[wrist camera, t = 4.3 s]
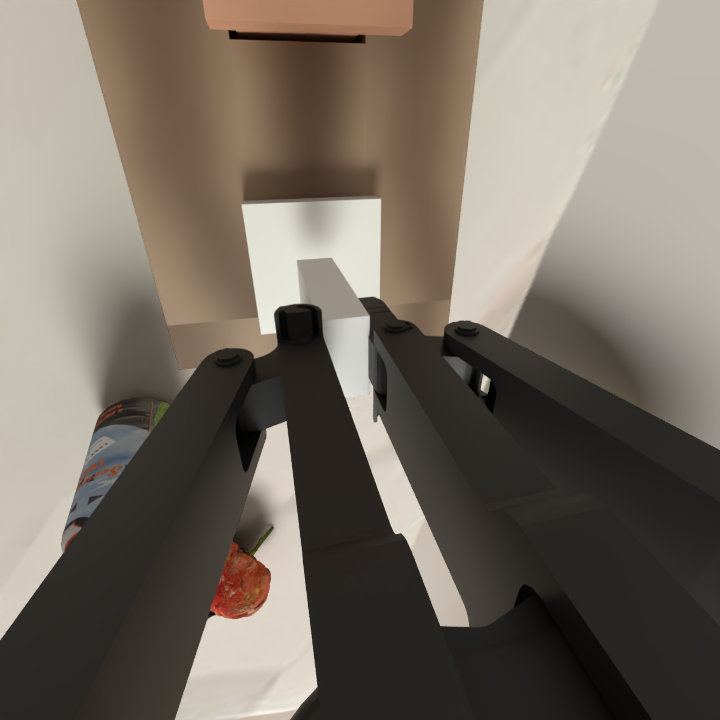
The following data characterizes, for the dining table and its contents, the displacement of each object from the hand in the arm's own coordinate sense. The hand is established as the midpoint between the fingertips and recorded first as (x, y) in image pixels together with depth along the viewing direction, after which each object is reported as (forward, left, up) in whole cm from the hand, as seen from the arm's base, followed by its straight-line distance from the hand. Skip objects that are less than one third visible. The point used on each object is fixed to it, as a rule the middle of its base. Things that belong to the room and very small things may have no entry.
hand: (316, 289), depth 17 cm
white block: (0, 0, -11) cm, 11 cm away
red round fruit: (-9, -30, -11) cm, 33 cm away
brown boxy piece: (0, +6, -11) cm, 13 cm away
